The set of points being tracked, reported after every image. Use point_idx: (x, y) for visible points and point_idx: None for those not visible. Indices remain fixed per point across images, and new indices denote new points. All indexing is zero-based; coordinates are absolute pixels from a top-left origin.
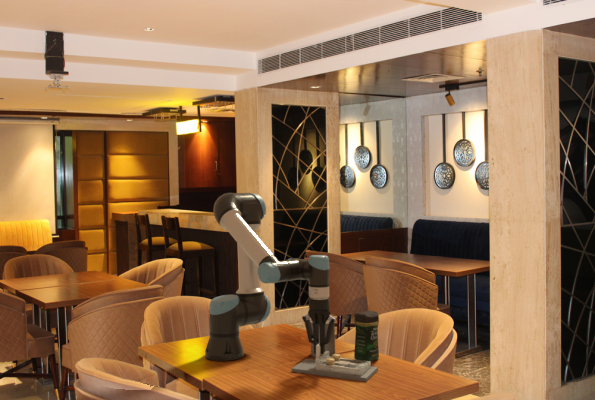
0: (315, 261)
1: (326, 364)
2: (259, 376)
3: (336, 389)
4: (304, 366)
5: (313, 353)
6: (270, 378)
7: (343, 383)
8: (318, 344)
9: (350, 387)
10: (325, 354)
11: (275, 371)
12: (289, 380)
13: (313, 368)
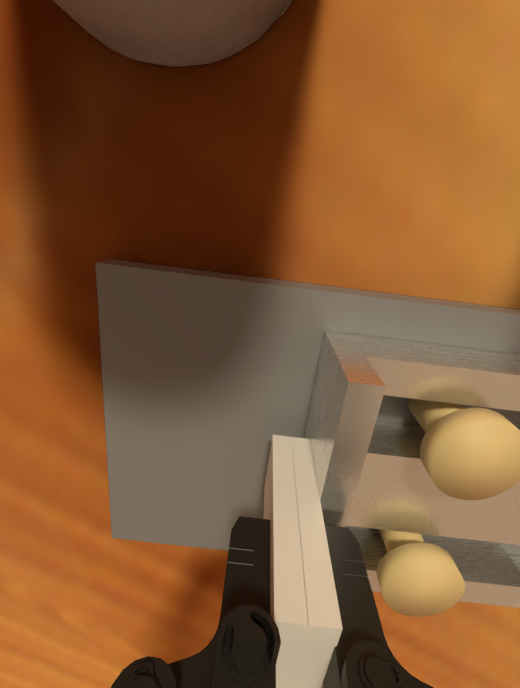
0: None
1: (377, 578)
2: (3, 609)
3: (441, 676)
4: (178, 484)
5: (68, 13)
6: (74, 621)
7: (476, 614)
8: (281, 655)
9: (513, 649)
10: (351, 486)
11: (27, 530)
12: (180, 627)
13: (259, 509)
